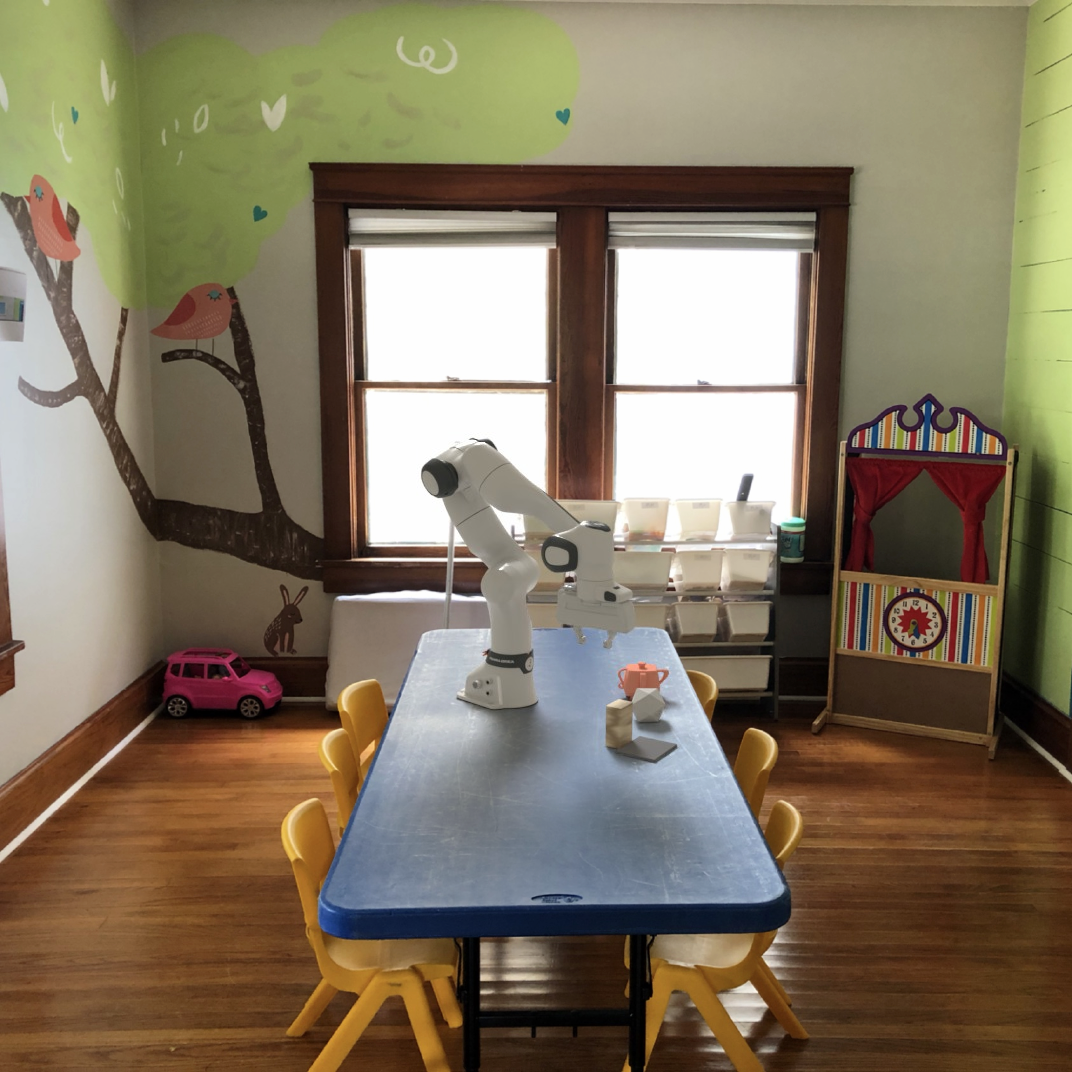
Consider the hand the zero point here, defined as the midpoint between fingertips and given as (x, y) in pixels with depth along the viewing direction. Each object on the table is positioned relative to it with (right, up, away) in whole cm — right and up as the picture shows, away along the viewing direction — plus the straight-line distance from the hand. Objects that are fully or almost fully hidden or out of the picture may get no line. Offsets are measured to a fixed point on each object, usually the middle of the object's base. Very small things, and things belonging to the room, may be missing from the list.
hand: (594, 645), depth 252 cm
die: (+15, -21, +17) cm, 31 cm away
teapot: (+15, -18, +36) cm, 43 cm away
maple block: (+6, -24, 0) cm, 24 cm away
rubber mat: (+12, -24, -4) cm, 27 cm away
